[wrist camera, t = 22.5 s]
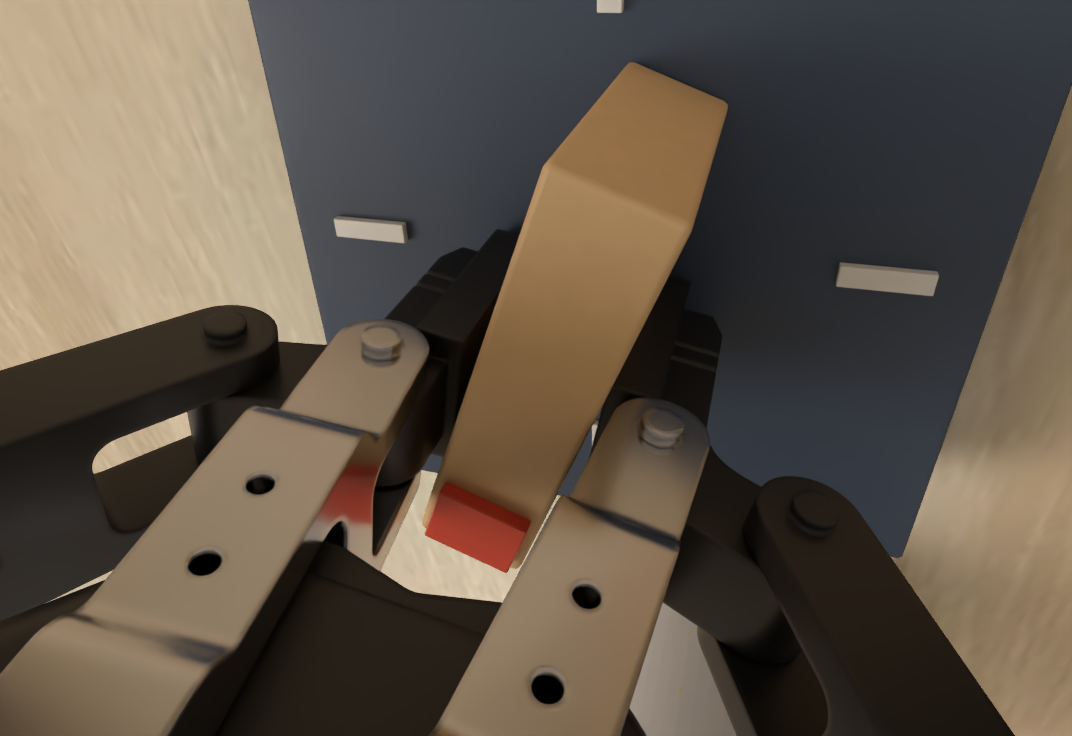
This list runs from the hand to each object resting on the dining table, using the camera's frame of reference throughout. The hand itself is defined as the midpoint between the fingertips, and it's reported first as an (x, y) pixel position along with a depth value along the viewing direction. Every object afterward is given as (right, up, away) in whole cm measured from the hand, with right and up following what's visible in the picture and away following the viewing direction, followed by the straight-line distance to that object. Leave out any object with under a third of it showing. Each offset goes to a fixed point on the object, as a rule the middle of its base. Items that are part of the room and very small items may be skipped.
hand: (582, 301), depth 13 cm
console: (+1, +2, +2) cm, 3 cm away
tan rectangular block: (0, +1, -1) cm, 1 cm away
